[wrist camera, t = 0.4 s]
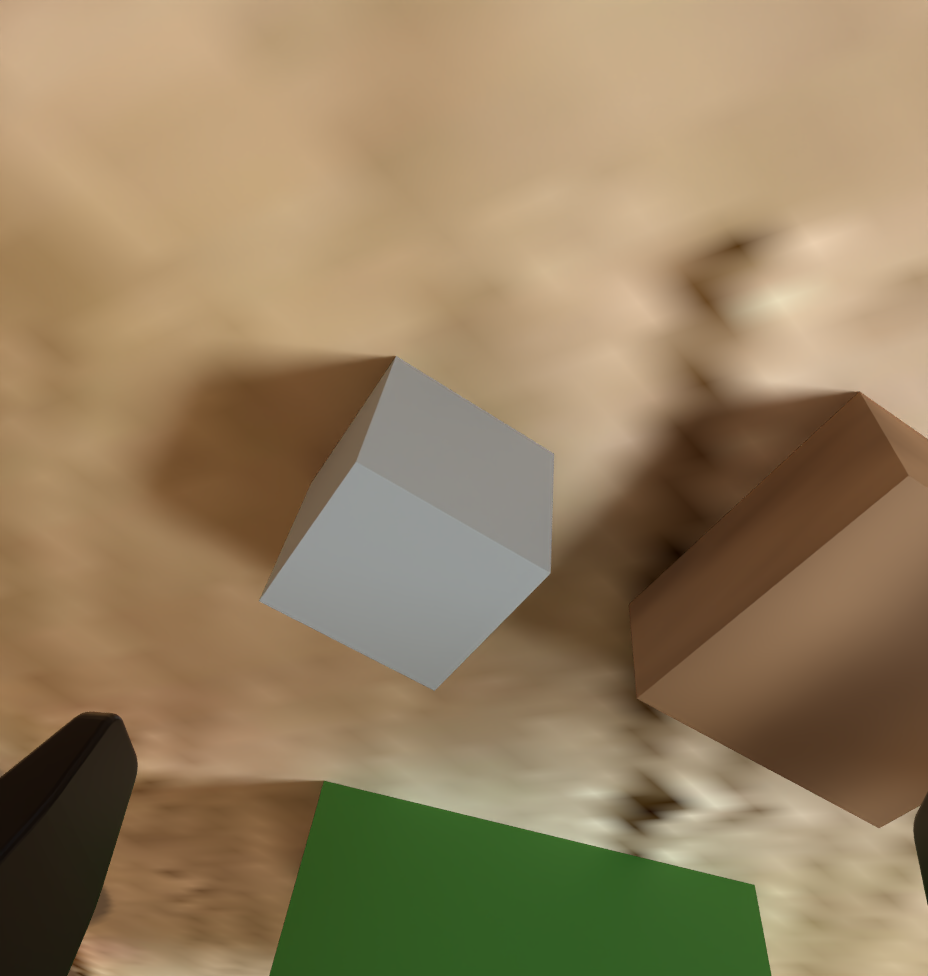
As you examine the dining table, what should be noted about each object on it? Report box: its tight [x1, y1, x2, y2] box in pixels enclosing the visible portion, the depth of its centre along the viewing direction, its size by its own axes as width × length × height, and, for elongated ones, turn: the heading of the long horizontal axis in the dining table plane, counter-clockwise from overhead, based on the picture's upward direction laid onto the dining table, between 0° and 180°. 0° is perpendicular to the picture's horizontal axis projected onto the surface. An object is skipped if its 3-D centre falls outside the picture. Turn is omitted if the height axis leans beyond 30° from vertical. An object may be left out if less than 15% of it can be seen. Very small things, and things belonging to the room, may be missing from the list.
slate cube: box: [259, 356, 554, 691], centre depth 21 cm, size 5×5×5 cm
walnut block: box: [629, 392, 928, 828], centre depth 23 cm, size 9×9×4 cm
